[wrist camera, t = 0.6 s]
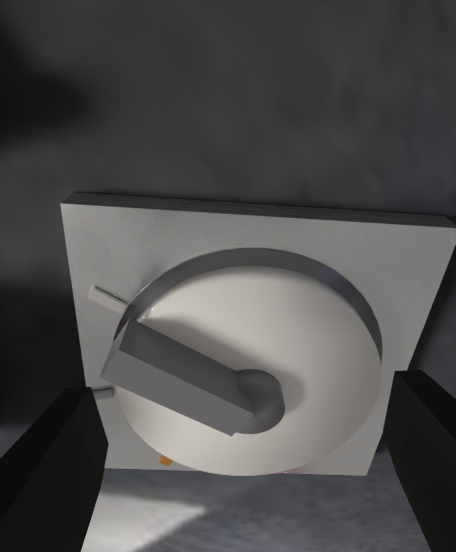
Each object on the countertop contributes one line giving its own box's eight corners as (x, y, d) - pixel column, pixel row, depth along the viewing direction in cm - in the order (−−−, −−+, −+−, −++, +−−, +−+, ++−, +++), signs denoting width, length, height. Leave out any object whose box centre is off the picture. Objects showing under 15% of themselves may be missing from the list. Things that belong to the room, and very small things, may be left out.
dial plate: (443, 215, 17) (465, 231, 16) (358, 453, 25) (367, 479, 23) (73, 192, 16) (58, 205, 15) (104, 445, 24) (96, 471, 22)
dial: (425, 347, 18) (463, 399, 15) (271, 481, 23) (278, 539, 20) (199, 204, 15) (194, 238, 12) (71, 397, 19) (46, 454, 17)
